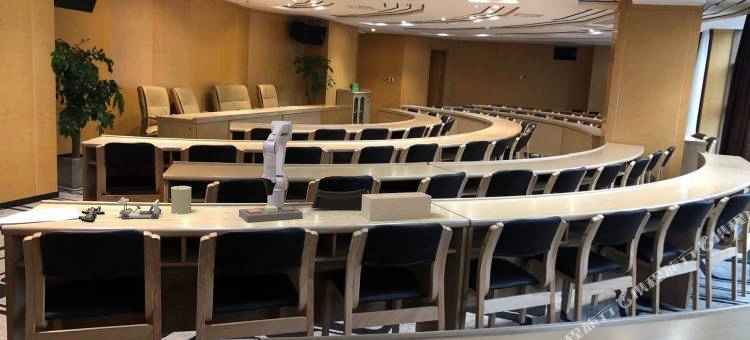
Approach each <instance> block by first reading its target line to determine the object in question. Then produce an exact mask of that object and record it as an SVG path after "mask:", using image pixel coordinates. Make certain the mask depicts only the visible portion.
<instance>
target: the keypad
mask: <svg viewBox="0 0 750 340" xmlns="http://www.w3.org/2000/svg"><path fill="white" fill-rule="evenodd" d="M284 207H291V208H293V209H294V211H282V210H280V207H277V208H278V212H268V213H266V212H265V211H264V207H256V208H255V207H253V208H252V209H258V210H260V211H261V213H254V214H249V213H248V212H247V210H250V209H251V208H244V209H243V208H242V209H240V208H239V209H238V217H240V218H241V219H242V220H244V222H246V223H258V222H259V223H260V222H261V223H262V222H273V221H287V220H300V219H301V220H302V219H303V212H302V211H301V210H300V209H298V208H296V207H294V206H292V205H287V206H285V205H284Z"/></svg>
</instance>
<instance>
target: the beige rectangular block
mask: <svg viewBox="0 0 750 340" xmlns="http://www.w3.org/2000/svg"><path fill="white" fill-rule="evenodd" d="M431 210H432V196H431V195H429V194H427V193H424V192H421V191H420V192H419V191H417V192H416V191H415V192H395V193H394V192H392V193H369V194H362V209H361V214H360V216H361V217H362V218H364V219H366V220H367V221H369V222H373V221H375V222H377V221H378V222H379V221H391V220H410V219H424V218H427V219H428V218H431V212H432V211H431Z"/></svg>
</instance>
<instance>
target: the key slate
mask: <svg viewBox="0 0 750 340" xmlns="http://www.w3.org/2000/svg"><path fill="white" fill-rule="evenodd" d="M280 210H282V211H294V209H293V208H291V207H280Z"/></svg>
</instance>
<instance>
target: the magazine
mask: <svg viewBox="0 0 750 340" xmlns="http://www.w3.org/2000/svg"><path fill="white" fill-rule="evenodd" d="M362 194H370V191H369V190H367V189H366V188H365V187H364V188H363V189H358V190H352V191H326V190H321V189H319V188H318V189H317V190H316V192H315V195H314V199H313V201H312V204H311V209H317V210H322V211H323V210H325V211H332V212H333V211H337V212H338V211H340V212H341V211H343V212H344V211H358V210H362Z"/></svg>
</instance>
